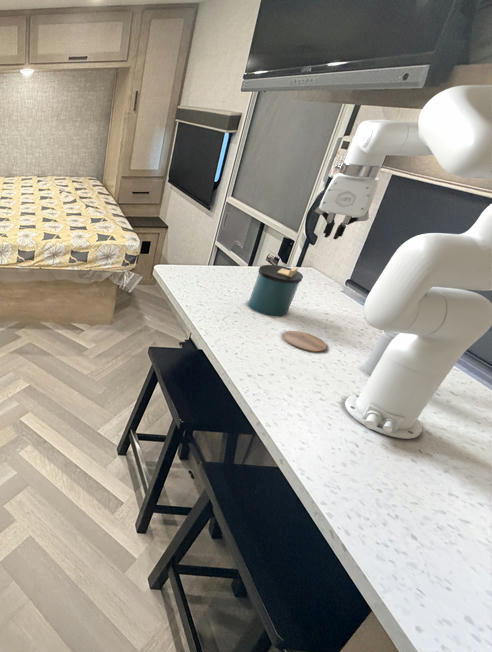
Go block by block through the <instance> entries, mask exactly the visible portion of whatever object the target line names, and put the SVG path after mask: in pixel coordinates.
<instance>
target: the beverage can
mask: <svg viewBox="0 0 492 652" xmlns="http://www.w3.org/2000/svg"><path fill="white" fill-rule="evenodd" d="M398 334H400V333H396V332H388V331H382V332H381V334H380V335H379V338H378V339H377V341H376V343H375V345H374V346H373V348H372V350H371V352H370V353H369V356H368V358H367V359H366V361H365V363H364V365H363V367H362V369H363V371H364V372H365V373H366V374H367V375H369V376H371V374H372V372H373V371H374V369H375V367H376V365H377V364H378V362H379V360H380V358H381V357H382V355H383V353H384V351H385V350H386V348H387V346H388V345H389V343H390V342H391V341H392V340H393V339H394V338H395V337H396V336H397V335H398Z"/></svg>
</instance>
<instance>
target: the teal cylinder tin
mask: <svg viewBox="0 0 492 652" xmlns="http://www.w3.org/2000/svg"><path fill="white" fill-rule="evenodd" d="M282 268H283V269H287V270H291V269H292V268H290V267H287V266H283V265H278V264H277V265H276V264H264V265H261V266H259V268H258V271H257V272H258V274H257V277H256V279H255V283H254V286H253V289H252V291H251V294H250V297H249V300H248V303H247V305H248V307H249V308H250V309H251V310H252V311H254V312H256V313H258V314H260V315H263V316H269V317H274V318H275V317H276V318H277V317H278V318H279V317H285V316H286V315H287V314H288V312H289V310H290V308H291V304H292V302H293V299H294V297H295V295H296V292H297V290H298V288H299V285H300V283H301V282H303V281H302V280H303V278H304V275H303V274H302V273H301V272H299V271H298V270H297V272H296V274H295V275H294V276H292V277H288V276H285V275H281V274H278V273H277V272H278V271H279V270H280V269H282Z"/></svg>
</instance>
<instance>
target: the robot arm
mask: <svg viewBox="0 0 492 652" xmlns="http://www.w3.org/2000/svg"><path fill="white" fill-rule="evenodd" d="M386 156H396V157H397V156H398V157H399V156H400V157H401V156H402V157H426V156H427V157H428V156H434V158H435V159H436V161H437V163H438V164H439V165H440V167H441V169H443V170H444V171H445V172H447V173H449V174H450V175H452V176H456V177H460V178H469V179H492V84H465V85H457V86H452V87H449V88H445V89H444V90H442V91H439V92H438V93H437V94H435V95H434V96H433V97H432V98H430V99H429V100H428V101H427V102H426V104H425V105H424V106H423V107H422V110H421V111H420V113H419V116H418V119H417V121H413V120H412V121H410V120H409V121H408V120H406V121H405V120H403V121H402V120H401V121H398V120H397V121H395V120H389V119H366V120H364V121H362V122H360V123H359V124H358V127H357V128H356V132H355V134H354V137H353V139H352V141H351V144H350V146H349V149H348V151H347V154H346V156H345V159H344V161H343V162H342V163H336V164H335V166H334V170H338V171H339V173H335V175H334V176H333V177H332V179H331V181H330V183H329V184H328V186H327V188H326V189H325V192H324V195H323V196H322V199H321V200H320V203H319V205H318V206H317V207H316V208H315V210H314V212H315V213H317V214H319V215H320V216H322V217H323V219H324V220H325V222H326V225H325V227H324V230H323V232H322V234H324V236H323V237H324V238H327V239H328V238H329V237H330V236H331V234H332V232H333V229H334V227H335V225H336V222H335V218H336V216H337V215H341V216H344V218H343V221H342V222H341V223H340V224H339V225H338V226H337V228H336V231H335V232H334V235H333V237H332V238H333V240H338V238H339V237H343V235H344V232H345V230H346V228H347V226H349V225H352V224H354V223H355V222H366V221H368V220H369V219H370V208H371V206H372V203H373V200H374V198H375V195H376V193H377V192H376V191H377V190H378V189H377V188H378V185H379V177H378V174H379V172H380V170H381V167H382V165H383V163H384V160H385V158H386ZM474 291H480V292H481V291H482V292H483V291H485V292H486V291H489V292H490V291H492V203H490V204H489V205H488V206H487V207H486V208H485V209H484V210H483V211H482V212H481V213H480V215H479V217H478V218H477V219H476V221H475V222H474V224H473V225H472V226H471V227H470V228H469V229H468V230H466V231H464V232H463V233H446V232H445V233H444V232H443V233H442V232H429V233H428V232H427V233H422V234H419V235H415V236H413V237H411V238H409V239H407V240H406V241H405V242H403V243H401V244H400V246H399V247H397V249H396V250H395V252H394V253H393V255H391V257H390V259H389V261H388V262H387V264H386V265H385V267H384V269H383V271H382V272H381V274H380V275H379V277H378V278H377V280H376V282H375V283H374V284H373V286H372V288H371V290H370V291H369V293H368V295H367V297H366V299H365V302H364V304H363V317H364V320H365V321H366V323H367V324H368V325H369V326H371V327H372V328H374V329H376V330H379V331H382V332H384V331H388V332H396V333H400V334H398V335H397V336H396V337H395V338H394V339H393V340H392V341H391V342H390V343H389V345H388V346H387V348H386V350H385V351H384V353H383V355H382V357H381V358H380V360H379V362H378V364H377V365H376V367H375V369H374V371H373V372H372V374H371V375H369V378H368V379H367V382H366V383H365V384H364V387H363V388H362V389H361V392H360V393H358V394H357V393H356V394H352V395H349V396H348V397H347V398H346V400H345V401H344V407H345V409H346V411H347V412H348V413H349V415H351V416H352V418H354V419H355V420H356V421H358V422H359V423H361V424H362V425H363V426H365V428H367V429H369V430H372V431H375V432H378V433H380V434H383V435H385V436H388V437H393V438H396V439H405V440H406V439H408V440H410V439H415V438H418V437H419V436H420V435H421V433H422V431H423V425H422V423H421V422H420V420H419V419H418V418H419V417H420V415H421V414H422V412H423V411H424V410H425V408H426V407H427V405H428V404H429V402H430V401H431V399H432V398H433V396H434V395H435V393H436V392H437V391H438V389H439V388H440V386H441V385H442V384H443V382H444V381H445V379H446V377H447V376H448V375H449V374H450V372H451V371H452V369H453V368H454V366H455V365H456V364H457V362H458V361H459V360H460V358H461V357H462V356H463V355H464V354H465V352H466V351H467V350H468V349H470V347H472V346H473V344H475V343H476V342H477V341H478V340H479V339H481V338H482V337H483V336H484V335H485V334H486V333H487V332H488V331H489V330H490V328H491V327H492V302H491V301H490V299H488V298H486V297H485V296H483V295H482V294H479V293H478V292H474Z"/></svg>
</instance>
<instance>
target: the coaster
mask: <svg viewBox="0 0 492 652" xmlns="http://www.w3.org/2000/svg"><path fill="white" fill-rule="evenodd" d="M283 339H284V341H285V342H287V343H288V344H289V345H291V346H292V347H295V348H297V349H299V350H302V351H305V352H311V353H321V352H325V351H326V349H327V344H326V343H325V342H324V341H323V340H322V339H320V338H319V337H317V336H315V335H312V334H310V333H307V332H304V331H295V330H290V331H286V332H285V333H284V334H283Z"/></svg>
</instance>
